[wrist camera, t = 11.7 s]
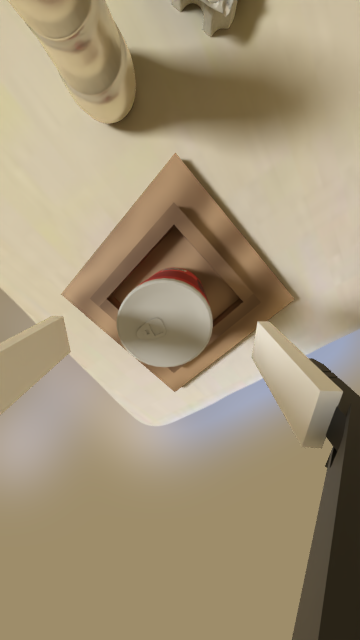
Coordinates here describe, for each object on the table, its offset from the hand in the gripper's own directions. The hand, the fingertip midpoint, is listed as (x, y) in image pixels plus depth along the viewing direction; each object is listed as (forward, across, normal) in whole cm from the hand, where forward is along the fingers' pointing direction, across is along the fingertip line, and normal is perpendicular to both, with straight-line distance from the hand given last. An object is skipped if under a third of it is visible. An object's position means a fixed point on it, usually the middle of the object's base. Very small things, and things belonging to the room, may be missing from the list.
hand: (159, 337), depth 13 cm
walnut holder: (+15, 0, 0) cm, 15 cm away
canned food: (+14, 0, 0) cm, 14 cm away
